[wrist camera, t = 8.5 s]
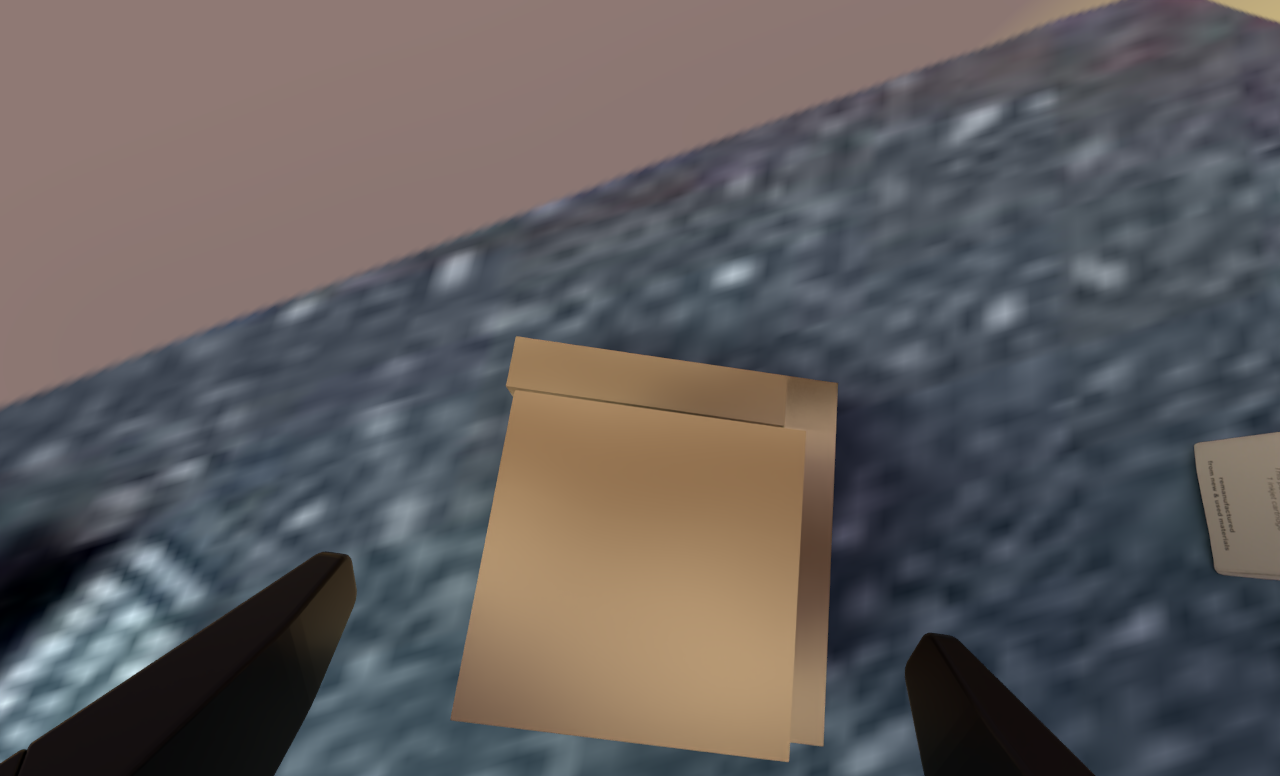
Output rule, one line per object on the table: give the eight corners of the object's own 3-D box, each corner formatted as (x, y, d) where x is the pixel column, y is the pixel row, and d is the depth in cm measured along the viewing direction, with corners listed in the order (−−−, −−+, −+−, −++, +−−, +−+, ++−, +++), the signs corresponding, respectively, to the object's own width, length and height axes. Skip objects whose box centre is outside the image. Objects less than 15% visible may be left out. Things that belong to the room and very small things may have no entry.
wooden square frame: (775, 700, 18) (823, 746, 14) (478, 661, 17) (443, 698, 14) (793, 412, 20) (837, 383, 16) (532, 374, 20) (515, 336, 16)
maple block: (688, 638, 18) (789, 761, 8) (533, 618, 18) (450, 720, 8) (704, 476, 19) (806, 419, 10) (560, 457, 19) (517, 378, 9)
